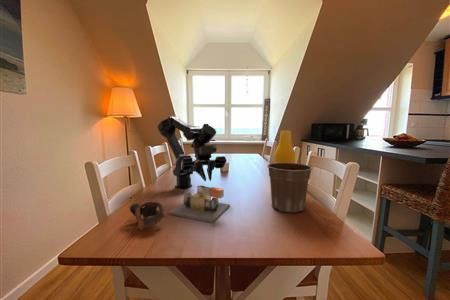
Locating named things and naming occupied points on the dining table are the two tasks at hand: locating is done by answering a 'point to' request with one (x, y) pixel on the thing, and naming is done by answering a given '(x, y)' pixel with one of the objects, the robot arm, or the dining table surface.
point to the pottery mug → (147, 213)
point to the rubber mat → (200, 212)
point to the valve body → (200, 202)
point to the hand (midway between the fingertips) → (208, 180)
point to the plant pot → (289, 186)
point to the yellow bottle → (284, 149)
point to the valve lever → (210, 191)
